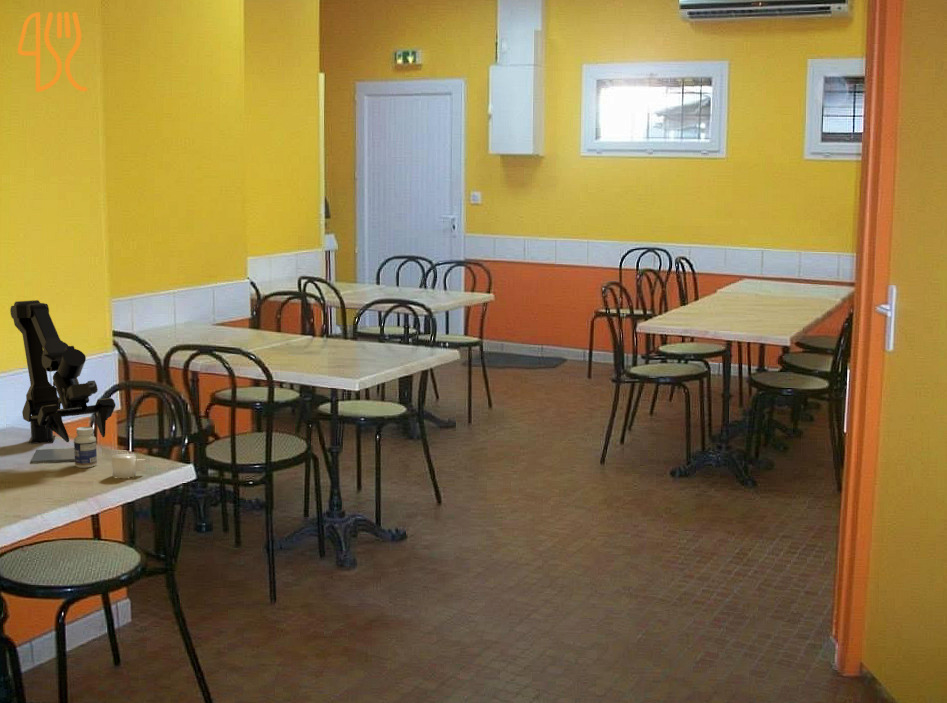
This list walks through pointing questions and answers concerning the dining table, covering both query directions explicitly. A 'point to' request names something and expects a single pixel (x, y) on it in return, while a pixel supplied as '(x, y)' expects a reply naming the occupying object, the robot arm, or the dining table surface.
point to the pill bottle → (85, 448)
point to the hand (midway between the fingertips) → (86, 438)
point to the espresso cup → (126, 465)
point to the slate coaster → (53, 455)
